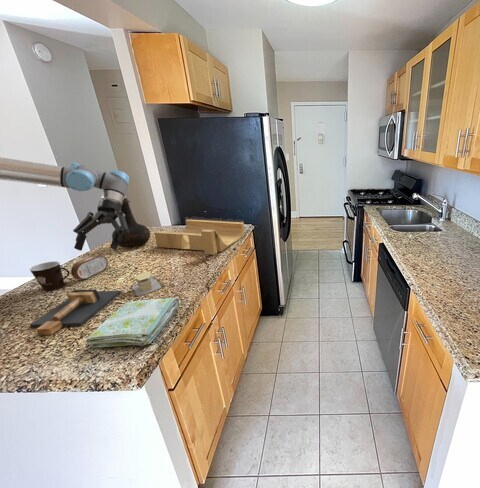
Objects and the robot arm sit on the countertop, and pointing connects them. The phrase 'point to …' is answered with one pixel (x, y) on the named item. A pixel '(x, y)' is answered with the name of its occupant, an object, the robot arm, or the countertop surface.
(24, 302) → the countertop surface
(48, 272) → the coffee mug
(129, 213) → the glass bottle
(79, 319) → the serving tray
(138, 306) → the towel
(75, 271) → the tin
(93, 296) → the scrub brush
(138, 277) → the stacked layers on plate
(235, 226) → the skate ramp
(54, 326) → the wooden square block
